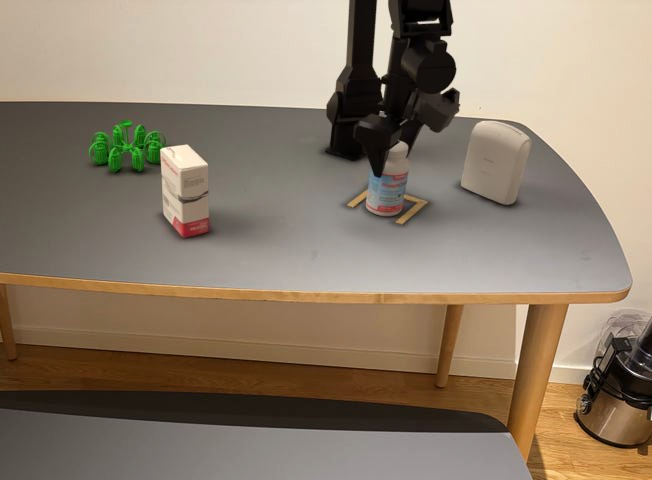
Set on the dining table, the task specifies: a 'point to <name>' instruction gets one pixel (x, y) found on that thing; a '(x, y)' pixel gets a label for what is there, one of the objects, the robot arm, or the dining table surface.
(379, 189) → the pill bottle
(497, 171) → the photo printer
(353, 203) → the tape outline
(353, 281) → the dining table surface
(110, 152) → the chandelier
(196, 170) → the ink box
